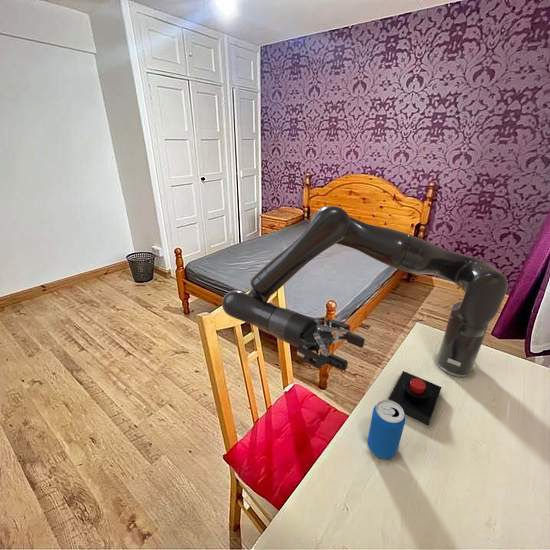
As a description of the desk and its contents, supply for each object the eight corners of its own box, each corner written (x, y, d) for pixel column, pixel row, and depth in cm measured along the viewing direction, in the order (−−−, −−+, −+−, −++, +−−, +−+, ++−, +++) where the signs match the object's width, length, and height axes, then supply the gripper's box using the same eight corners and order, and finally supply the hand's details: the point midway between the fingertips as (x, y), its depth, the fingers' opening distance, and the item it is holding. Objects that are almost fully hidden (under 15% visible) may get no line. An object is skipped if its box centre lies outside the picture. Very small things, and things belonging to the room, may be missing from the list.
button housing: (387, 405, 79) (389, 393, 77) (401, 377, 88) (404, 365, 86) (428, 426, 74) (432, 413, 72) (439, 394, 82) (443, 381, 80)
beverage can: (398, 464, 66) (409, 426, 60) (367, 458, 67) (375, 421, 62) (394, 436, 71) (403, 400, 66) (366, 432, 73) (372, 395, 67)
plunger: (407, 389, 79) (408, 384, 78) (411, 381, 81) (412, 376, 80) (422, 396, 77) (423, 391, 76) (425, 387, 79) (427, 382, 78)
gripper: (273, 329, 66) (342, 359, 57) (307, 300, 76) (370, 323, 67) (273, 356, 69) (339, 388, 60) (306, 325, 79) (366, 349, 71)
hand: (355, 354), depth 64 cm, fingers open, 8 cm apart
